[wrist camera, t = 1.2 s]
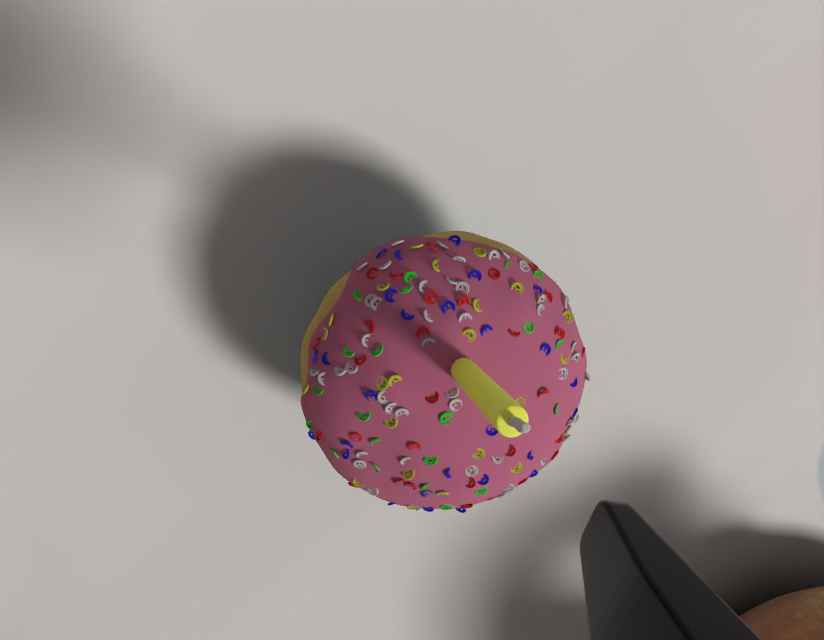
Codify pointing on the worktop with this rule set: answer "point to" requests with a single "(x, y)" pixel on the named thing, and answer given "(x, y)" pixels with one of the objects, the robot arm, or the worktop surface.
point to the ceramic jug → (789, 616)
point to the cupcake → (442, 371)
